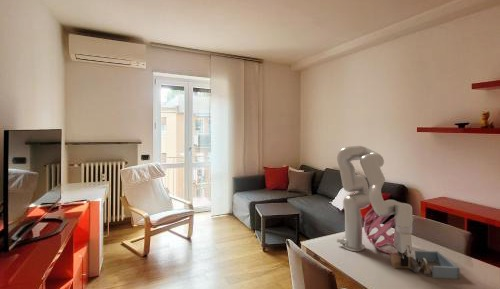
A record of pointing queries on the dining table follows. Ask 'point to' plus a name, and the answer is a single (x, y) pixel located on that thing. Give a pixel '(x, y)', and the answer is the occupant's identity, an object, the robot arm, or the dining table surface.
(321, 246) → the dining table surface
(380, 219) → the spiral basket
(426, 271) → the eagle figurine
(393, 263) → the brown grey block
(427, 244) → the dining table surface
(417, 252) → the box
